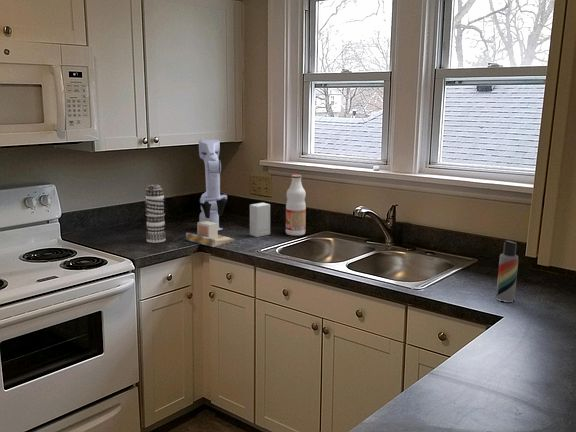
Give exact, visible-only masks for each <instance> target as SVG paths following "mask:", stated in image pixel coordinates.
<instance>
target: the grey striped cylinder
mask: <svg viewBox="0 0 576 432" xmlns="http://www.w3.org/2000/svg"><path fill="white" fill-rule="evenodd" d="M144 189H145V201H144V208H145V210H144V211H145V213H144V214H145V216H146V225H145V228H146V229H145V231H146V233H145V234H146V236H145V238H146V242H147V243H153V244H154V243H155V244H156V243H162V242H163V243H164V242H165V241H166V240H167V239H166V237H167V236H166V234H167V233H166V229H167V228H166V226H167V225H166V223H165V215H166V212H164V211H165V210H166V208H165V207H166V204H164V203H165V202H166V197H165V195H164V187H163V186H162V185H161V184H156V183H155V184H154V183H153V184H148V185H147V186H146V188H144Z"/></svg>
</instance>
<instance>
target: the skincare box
mask: <svg viewBox="0 0 576 432" xmlns="http://www.w3.org/2000/svg"><path fill="white" fill-rule="evenodd" d="M269 235H271V204H270V203H266V202H258V203H252V204H249V236H253V237H255V238H258V237H260V238H261V237H263V236H269Z"/></svg>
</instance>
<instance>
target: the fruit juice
mask: <svg viewBox="0 0 576 432" xmlns="http://www.w3.org/2000/svg"><path fill="white" fill-rule="evenodd" d="M290 179H291V182H290V185H289V188H288V189H287V190H286V199H287V200H286V204H285V233H286V235H289V236H303V235H305V234H306V225H307V224H306V223H307V221H306V216H307V213H306V212H307V211H306V210H307V207H306V206H307V205H306V201H305V199H306V196H307V195H306V194H307V193H306V190H305V188H304V187H303V183H302V175H301V174H292V175H291V177H290Z"/></svg>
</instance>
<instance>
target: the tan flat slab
mask: <svg viewBox="0 0 576 432" xmlns="http://www.w3.org/2000/svg"><path fill="white" fill-rule="evenodd" d="M185 234H186V235H185V237H186V238H185V240H187V241H189V242H192V243H197V244H200V245H204V246H208V247H212V248H215V247H218V246H223V245H226V243H227V244H231V243H230V242H232V243H235V242H236V238H232V237H229V236H224V235H222V234H218V239H212V238H208V237H204V236H200V235H197V234H196V233H192V232H186V233H185ZM234 241H235V242H234ZM222 244H223V245H222Z"/></svg>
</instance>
